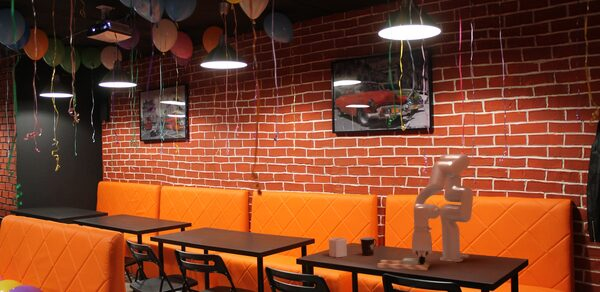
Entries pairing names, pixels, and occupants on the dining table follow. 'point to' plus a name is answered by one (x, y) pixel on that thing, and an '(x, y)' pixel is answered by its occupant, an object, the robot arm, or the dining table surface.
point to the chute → (401, 265)
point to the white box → (337, 247)
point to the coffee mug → (367, 246)
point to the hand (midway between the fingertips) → (422, 264)
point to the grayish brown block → (410, 261)
